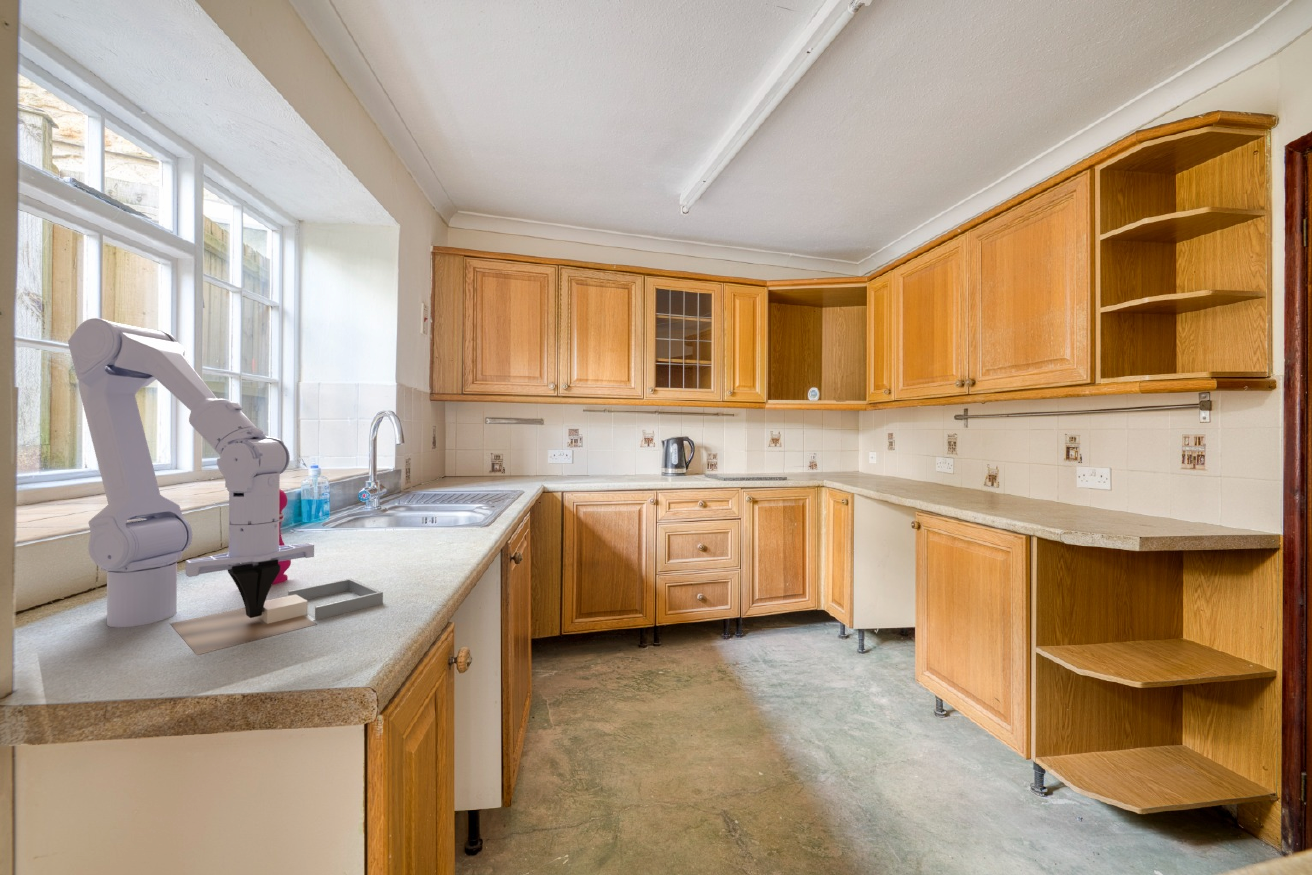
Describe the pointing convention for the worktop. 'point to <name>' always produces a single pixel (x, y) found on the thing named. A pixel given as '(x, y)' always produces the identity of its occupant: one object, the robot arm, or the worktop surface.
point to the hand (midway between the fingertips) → (254, 615)
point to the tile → (284, 608)
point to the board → (232, 629)
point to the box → (365, 600)
